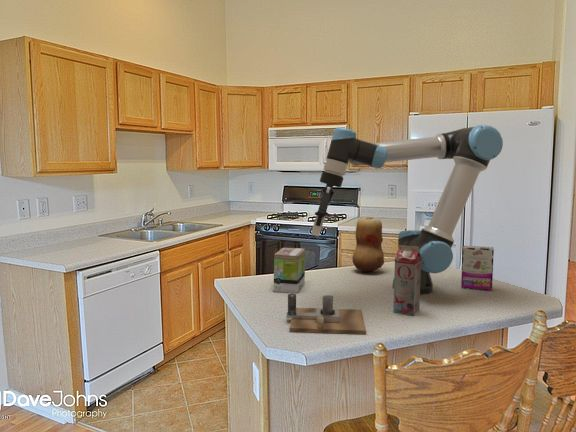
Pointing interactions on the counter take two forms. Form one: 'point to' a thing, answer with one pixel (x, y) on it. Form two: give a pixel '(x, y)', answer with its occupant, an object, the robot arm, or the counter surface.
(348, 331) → the board
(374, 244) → the butternut squash
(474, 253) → the candy bar box
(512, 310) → the counter surface
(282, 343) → the counter surface
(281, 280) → the tea box
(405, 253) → the juice carton
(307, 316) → the square frame with handle
